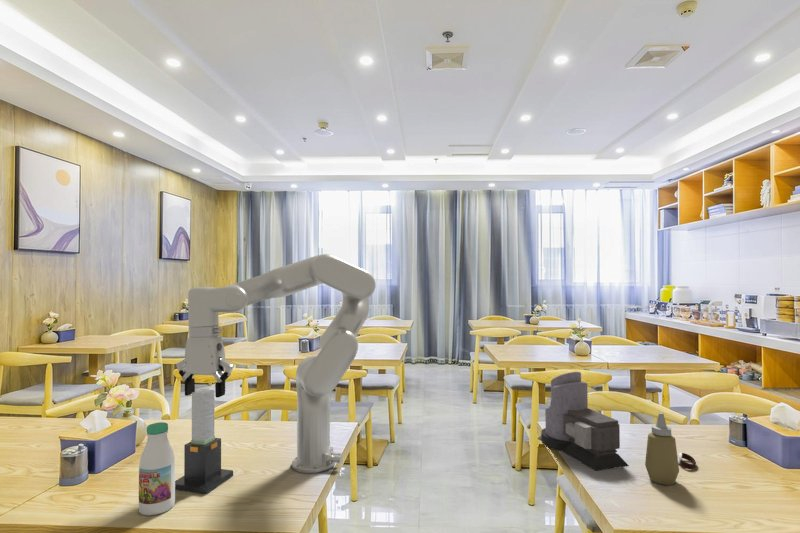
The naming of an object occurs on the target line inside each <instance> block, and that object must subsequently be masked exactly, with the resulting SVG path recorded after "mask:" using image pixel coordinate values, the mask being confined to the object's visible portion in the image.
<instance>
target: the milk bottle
mask: <svg viewBox="0 0 800 533" xmlns="http://www.w3.org/2000/svg"><path fill="white" fill-rule="evenodd" d="M168 433H169V424H168V423H167V422H163V421H161V422H160V421H159V422H154V423H150V424H148V425H147V426H146V436H147V440H146V443H145V446H144V448H143V450H142V452H141V455H140V459H139V464H138V465H139V466H138V511H139V513H140V515H143V516H156V515H161V514H164V513H165V512H168V511H170V510H171V509H172V508H173V507H174V506H175V503H176V490H175V481H176V457H175V452H174V449H173V447H172V445H171V443H170V441H169V438H168Z"/></svg>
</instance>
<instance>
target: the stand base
mask: <svg viewBox="0 0 800 533" xmlns="http://www.w3.org/2000/svg"><path fill="white" fill-rule="evenodd" d="M183 447H184V450H183V452H184V455H183V456H184V460H183V461H184V467H183V468H184V469H183V471H184V472H183V474H184V475H183V476H181V477H179V478H178V479H175V491H179V492H187V493H188V492H189V493H194V494H195V493H196V494H202V495H209V493H212V491H213V490H215V489H217V488H218V487H220V486H221V485H222V484H224V483H226V482H227V481H228V480H229V479H231V478H233V477H234V470H232V469H224V468H222V437H221V438H220V437H215V440H214V441H212V442H211V443H209V444H207V445H205V446H203V445H194V444H191V441H189V442H187V443H185V444H184V446H183Z"/></svg>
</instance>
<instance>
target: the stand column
mask: <svg viewBox="0 0 800 533" xmlns="http://www.w3.org/2000/svg"><path fill="white" fill-rule="evenodd" d="M215 438H216V436H215V389H207V388H206V389H205V388H202V389H201V388H200V389H198V390H195V392H192V394H191V440H190V442H191V444H194V445H203V446H205V445H207V444H209V443H211V442H212V441H214V440H215Z"/></svg>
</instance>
